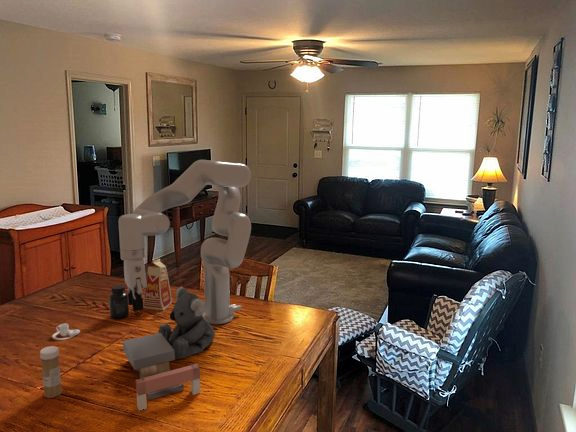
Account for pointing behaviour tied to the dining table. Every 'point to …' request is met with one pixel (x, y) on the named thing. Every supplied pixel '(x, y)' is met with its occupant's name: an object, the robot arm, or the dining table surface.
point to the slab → (148, 351)
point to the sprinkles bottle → (51, 371)
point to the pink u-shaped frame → (167, 382)
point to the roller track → (157, 370)
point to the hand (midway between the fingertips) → (135, 306)
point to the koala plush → (188, 326)
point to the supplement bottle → (119, 303)
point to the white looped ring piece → (65, 332)
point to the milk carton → (157, 287)
